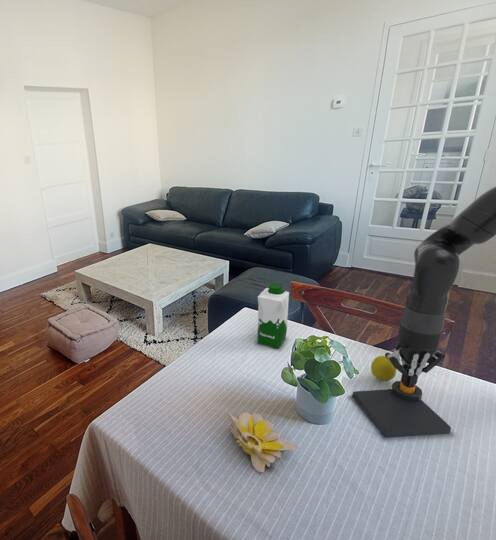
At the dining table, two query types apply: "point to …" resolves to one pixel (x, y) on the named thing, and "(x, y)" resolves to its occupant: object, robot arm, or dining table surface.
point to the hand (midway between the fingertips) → (408, 385)
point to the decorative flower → (258, 439)
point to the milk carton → (272, 316)
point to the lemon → (383, 368)
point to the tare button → (407, 388)
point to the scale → (400, 412)
